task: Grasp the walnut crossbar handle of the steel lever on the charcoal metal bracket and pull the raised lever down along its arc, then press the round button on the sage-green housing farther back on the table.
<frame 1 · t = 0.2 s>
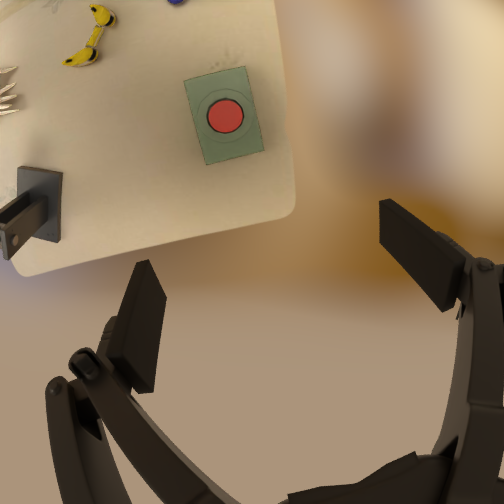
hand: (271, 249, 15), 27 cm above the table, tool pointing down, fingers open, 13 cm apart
twin pod spaceship: (94, 38, 27), on the table
bracket: (39, 203, 38), on the table
spiky ball: (6, 96, 28), on the table
button: (225, 116, 32), point 4 cm above the table, slide at 0.1 cm
button box: (224, 114, 36), on the table
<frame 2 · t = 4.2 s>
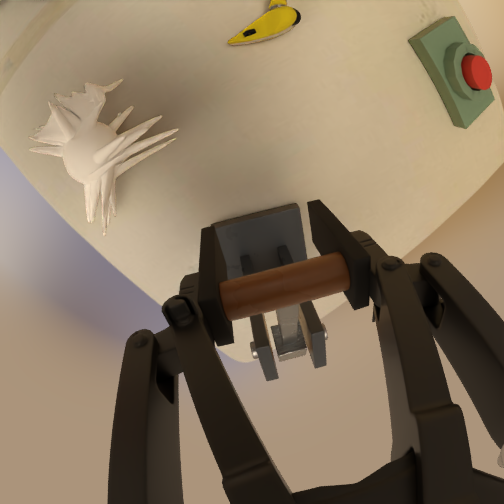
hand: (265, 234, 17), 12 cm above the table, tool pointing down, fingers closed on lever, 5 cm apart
twin pod spaceship: (257, 0, 19), on the table
lever: (287, 323, 18), point 14 cm above the table, hinge at 28.0°, touching gripper
bracket: (265, 261, 32), on the table
spiky ball: (122, 134, 24), on the table
button: (476, 72, 19), point 4 cm above the table, slide at 0.1 cm
button box: (451, 70, 22), on the table
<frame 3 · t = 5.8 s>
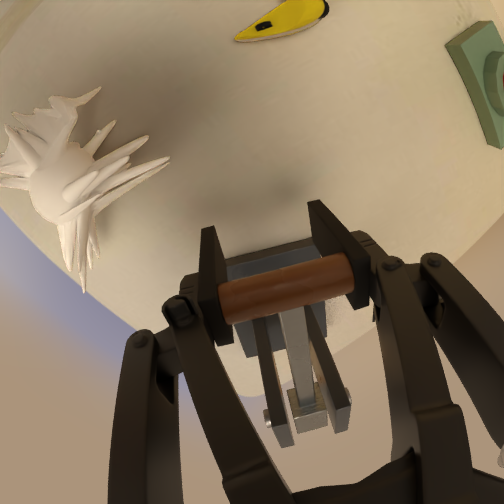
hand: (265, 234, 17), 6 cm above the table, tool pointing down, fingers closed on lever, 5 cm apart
lever: (300, 367, 15), point 12 cm above the table, hinge at -1.2°, touching gripper
bracket: (276, 301, 28), on the table
spiky ball: (103, 155, 19), on the table
button box: (487, 81, 18), on the table
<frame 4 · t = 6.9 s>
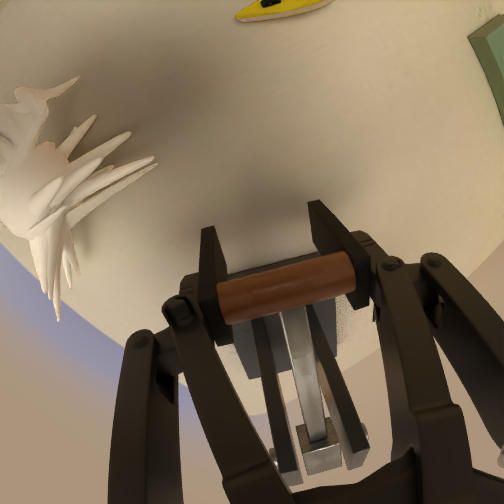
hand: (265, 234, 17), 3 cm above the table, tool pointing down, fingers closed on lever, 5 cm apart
lever: (308, 390, 13), point 10 cm above the table, hinge at -18.3°, touching gripper
bracket: (282, 320, 25), on the table
spiky ball: (83, 156, 16), on the table
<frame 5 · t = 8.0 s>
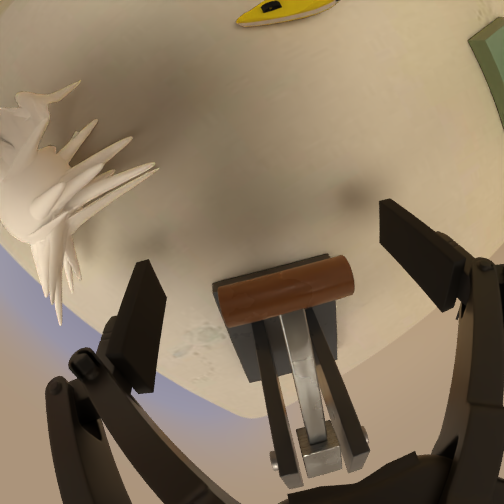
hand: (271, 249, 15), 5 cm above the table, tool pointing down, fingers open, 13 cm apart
lever: (308, 393, 13), point 10 cm above the table, hinge at -19.3°
bracket: (282, 323, 25), on the table
spiky ball: (84, 161, 16), on the table
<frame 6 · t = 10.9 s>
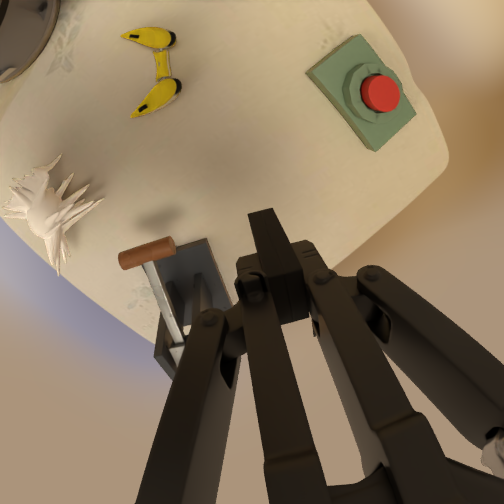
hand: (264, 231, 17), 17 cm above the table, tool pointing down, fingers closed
twin pod spaceship: (154, 69, 25), on the table
lever: (166, 308, 27), point 10 cm above the table, hinge at -19.3°
bracket: (189, 284, 39), on the table
spiky ball: (69, 194, 30), on the table
button: (380, 93, 25), point 4 cm above the table, slide at 0.1 cm
button box: (361, 92, 28), on the table
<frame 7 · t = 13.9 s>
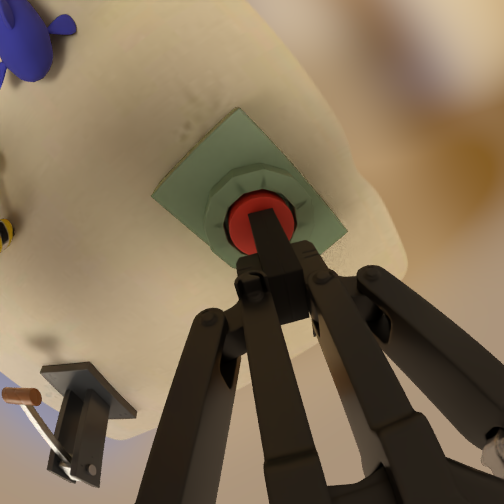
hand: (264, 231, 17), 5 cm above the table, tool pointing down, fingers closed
lever: (49, 437, 20), point 10 cm above the table, hinge at -19.3°
bracket: (89, 391, 31), on the table
button: (260, 222, 18), point 4 cm above the table, slide at -0.8 cm, touching gripper
button box: (252, 202, 21), on the table
fish toy: (25, 20, 11), on the table
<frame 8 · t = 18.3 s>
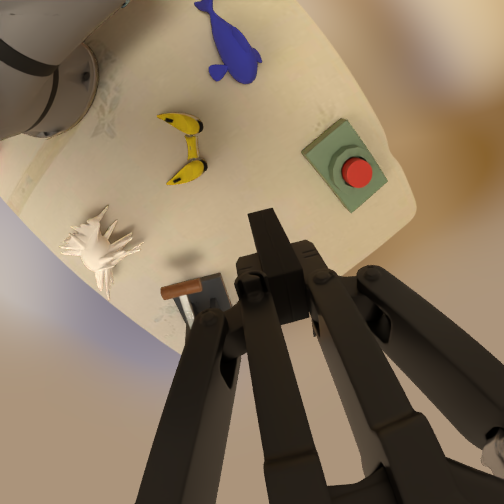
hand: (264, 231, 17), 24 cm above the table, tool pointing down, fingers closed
twin pod spaceship: (184, 145, 37), on the table
lever: (194, 326, 39), point 10 cm above the table, hinge at -19.3°
bracket: (205, 305, 51), on the table
spiky ball: (112, 235, 42), on the table
button: (357, 172, 37), point 4 cm above the table, slide at 0.1 cm
button box: (344, 164, 41), on the table
fish toy: (220, 40, 30), on the table
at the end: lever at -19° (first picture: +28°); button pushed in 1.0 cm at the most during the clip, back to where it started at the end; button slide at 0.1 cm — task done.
